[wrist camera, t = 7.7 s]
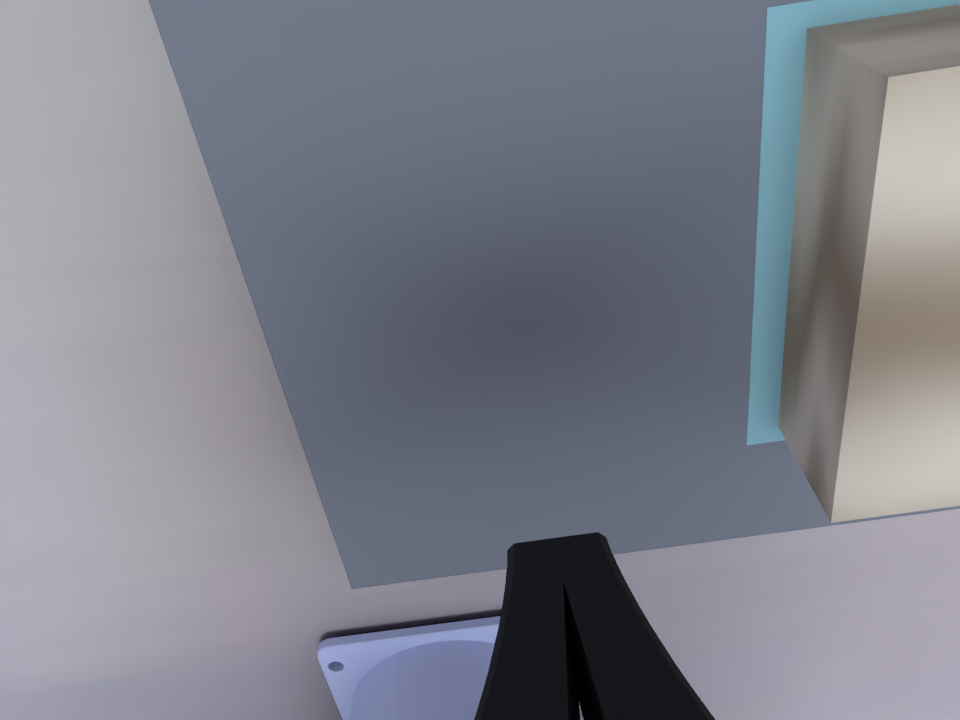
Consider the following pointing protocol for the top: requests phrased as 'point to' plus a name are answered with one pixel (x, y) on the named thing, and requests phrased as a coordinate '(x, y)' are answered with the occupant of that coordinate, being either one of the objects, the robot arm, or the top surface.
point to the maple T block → (877, 267)
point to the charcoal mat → (517, 259)
